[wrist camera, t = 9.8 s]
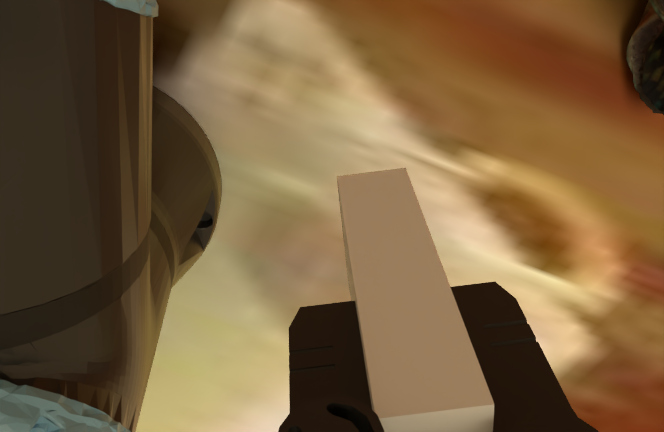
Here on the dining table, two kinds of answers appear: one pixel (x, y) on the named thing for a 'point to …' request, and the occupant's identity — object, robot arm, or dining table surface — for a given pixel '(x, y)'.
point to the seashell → (649, 56)
